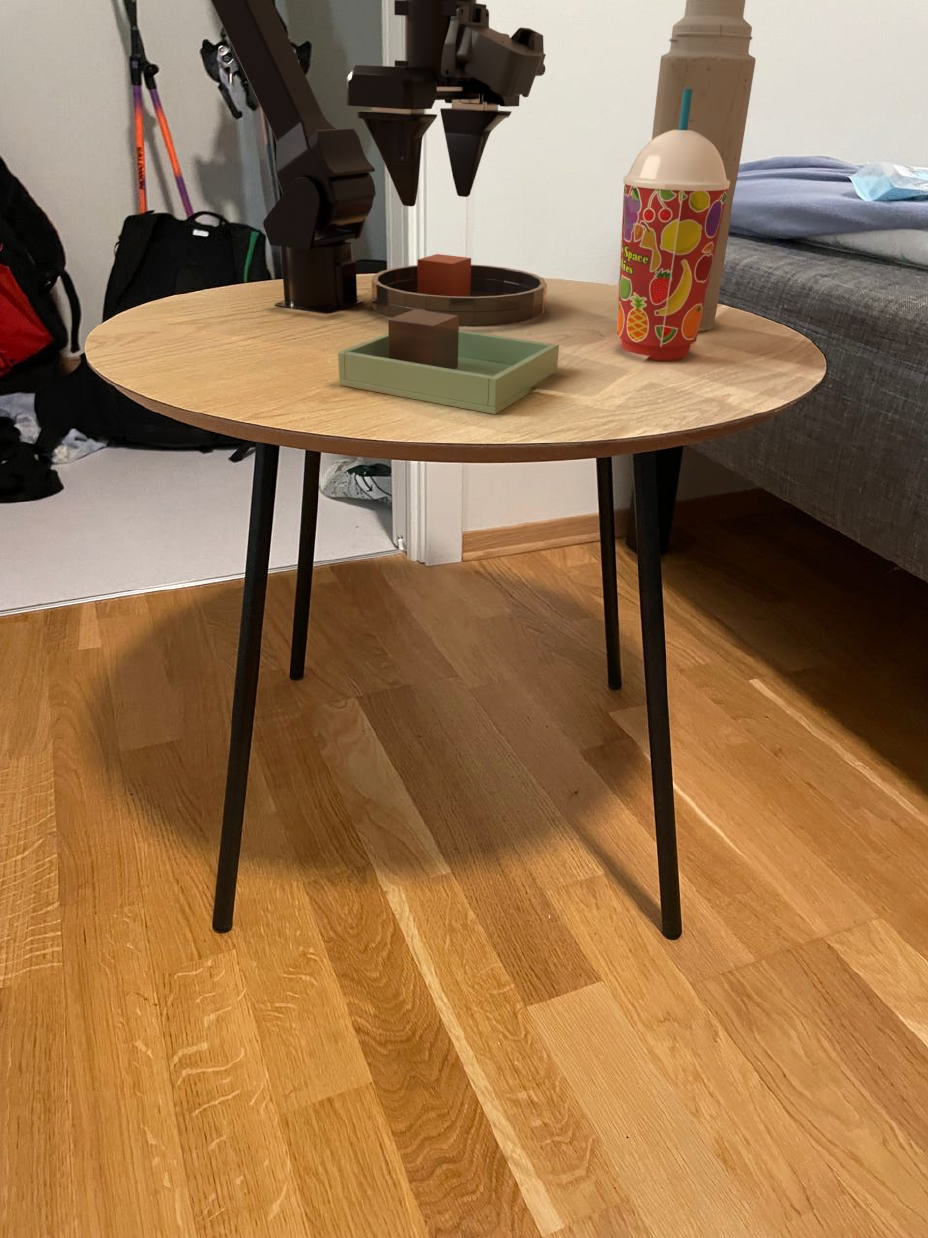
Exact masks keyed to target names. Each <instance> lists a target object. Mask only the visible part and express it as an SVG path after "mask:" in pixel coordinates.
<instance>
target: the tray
mask: <svg viewBox="0 0 928 1238" xmlns="http://www.w3.org/2000/svg"><path fill="white" fill-rule="evenodd" d="M559 349H560V345H559V344H555V343H548V342H543V341H542V342H541V341H536V340H530V339H523V338H516V337H509V336H504V335H497V334H489V333H483V332H476V331H469V330H463V329H459V338H458V367H457V368H455V369H448V368H442V367H436V366H430V365H424V364H418V363H413V362H407V361H401V360H395V359H389V340H388V332H387V333H384V334H382V335H379V336H376V337H374V338H372V339H369V340H366V341H364V342H360V343H358V344H355V345H352V346H351V347H348V348H346V349H343V350H341V351H338V352H337V362H338V384H339V386H343V387H349V388H353V389H359V390H364V391H368V392H369V391H370V392H376V393H380V394H386V395H390V396H397V397H401V398H407V399H413V400H417V401H422V402H428V403H433V404H439V405H445V406H450V407H453V408H454V407H455V408H460V409H465V410H470V411H477V412H480V413H481V412H482V413H485V414H492V415H497V414H498V413H500V412H501V411H503V410H504V409H506V408H508V407H509V406H511V405H513V404H514V403H516V402H517V401H519V400H521V399H522V398H524V397H526V396H527V395H529V394H530V393H532V392H533V391H535V390H537V389H538V387H535V385H537V384H538V383H540V382H542V381H543V380H545V379H547V378H548V377H550V376H551V375H553V374H555V373H557V372H558V363H559V351H560V350H559Z"/></svg>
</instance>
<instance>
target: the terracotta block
mask: <svg viewBox="0 0 928 1238" xmlns="http://www.w3.org/2000/svg"><path fill="white" fill-rule="evenodd" d="M471 264H472V257H466V256H458V255H450V254H449V255H448V254H440V253H436V254H432V255H429V256H425V257H422V258H418V259H417V265H418V293H419V294H427V295H438V296H456V297H470V285H471Z"/></svg>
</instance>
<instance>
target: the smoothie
mask: <svg viewBox="0 0 928 1238" xmlns="http://www.w3.org/2000/svg"><path fill="white" fill-rule="evenodd" d="M692 90H693V89H684V93H683V100H682V108H681V116H680V124H679V129H674V130H671V131H668V132H665V133H663V134H661V135H659V136H657V137H655V138H654V139H653V140H652V139H651V140H650V141H648V143H646V144H645V146H644V147H643V148H641V149H640V151H639V153H638V154H637V155H636V157H635V159H634V161H633V163H632V165H631V167H630V168H629V172H628V173H627V174H626V175H625V176H624V177H623V180H622V181H623V184H624V186H623V197H622V198H623V202H622V222H621V239H620V240H621V243H620V265H619V283H618V304H617V305H618V307H617V324H616V325H617V329H616V336H617V337H618V338H619V339H620V342H621V343H620V344H621V347H622V349H623V350H624V351H627V352H629V353H633V354H636V355H641V356H642V355H643V356H648V357H646V358H645V360H646V361H656V362H667V361H668V362H669V361H678V360H681V359H683V358H685V357H687V356H688V355H689V352H690V349H691V345H692V344H694V343H696V342H697V339H698V335H699V332H698V330H699V325H700V321H701V316H702V311H703V306H704V302H705V297H706V292H707V288H708V283H709V278H710V273H711V269H712V264H713V259H714V254H715V250H716V245H717V240H718V235H719V231H720V226H721V221H722V217H723V212H724V207H725V202H726V197H727V191H728V189H729V186H730V181H729V180H727V178H726V173H725V168H724V164H723V160H722V158H721V156H720V153H719V151H718V150H717V148H716V147H715V145H714V144H713V143H712V142H711V141H710V140H709V139H707V138H706V137H705V136H703V135H701V134H699V133H698V132H695V131H693V130H687V129H688V121H689V113H690V105H691V98H692Z"/></svg>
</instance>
